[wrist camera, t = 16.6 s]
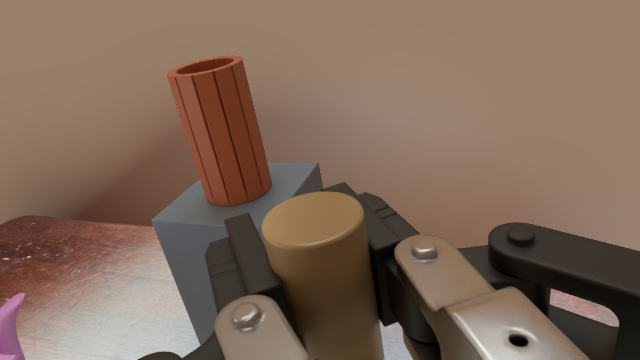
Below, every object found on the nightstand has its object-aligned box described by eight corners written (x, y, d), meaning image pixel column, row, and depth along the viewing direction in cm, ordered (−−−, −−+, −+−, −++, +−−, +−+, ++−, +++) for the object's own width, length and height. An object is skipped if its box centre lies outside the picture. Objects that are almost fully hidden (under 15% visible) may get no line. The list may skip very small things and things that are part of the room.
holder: (343, 296, 36) (296, 42, 27) (307, 380, 29) (229, 82, 21) (256, 285, 39) (187, 53, 30) (205, 359, 32) (99, 91, 24)
